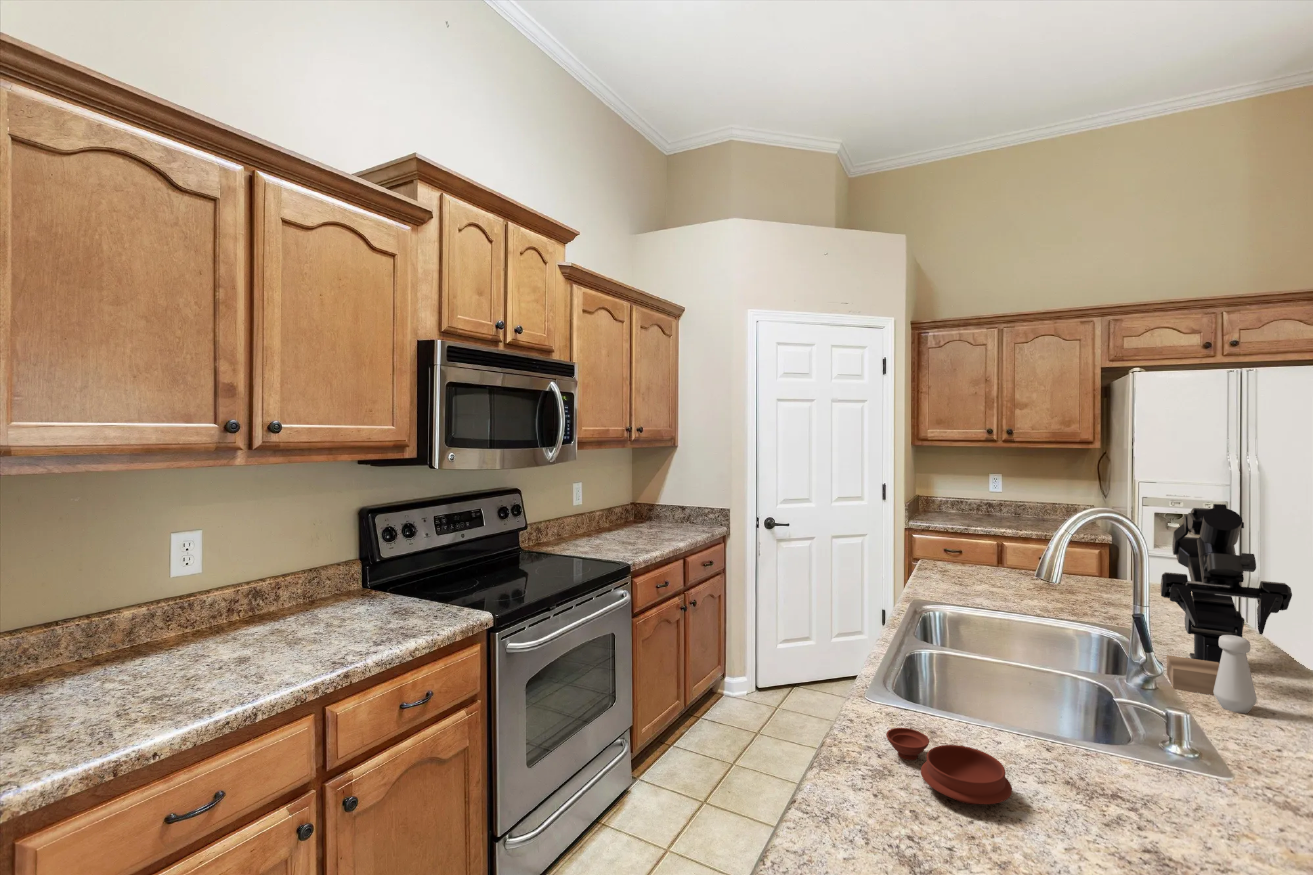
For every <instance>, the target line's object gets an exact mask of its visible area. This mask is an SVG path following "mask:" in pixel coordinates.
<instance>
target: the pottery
mask: <svg viewBox="0 0 1313 875" xmlns="http://www.w3.org/2000/svg"><path fill="white" fill-rule="evenodd" d="M885 734H886V735H885V736H886V738H887V741H888V743H890V745H891V746H892V748H893V749H894V750H895V751H897V755H898V756H899V758H900V759H903V760H905V761H906V760H907V761H916V760H917V759H918V757H919V755H920V754H922V753H923V752H924V750H926V749H927V748H928V746H929V744H930V739H929V737H928V735H926V734H924V733H922V732H921V731H919V730H916V729H913V728H907V727H895V728H891V729H889V730H887V732H886V733H885ZM920 775H921V777H922V778H923V780H924V782H925V783H926V784H927V785H928V786H929V787H931V788H932V789H933V790H935V791H937V792H938V793H940V794H942V795H944V796H946V797H949V798H950V799H952V800H955V801H957V802H959V803H962V804H966V805H994V804H1000V803H1002V802H1004V801H1007V800H1009V798H1010V797H1011V795H1012V794H1013V788H1012V784H1011V782H1010V781H1009V780H1008V778H1007V777H1006V769H1005V766H1004V765H1003V764H1002V763H1001V761H999V760H998V759H997V758H995V757H994V756H993V755H991V754H988V753H986V752H984V751H982V750H979V749H976V748H974V747H969V746H964V745H959V744H957V745H956V744H943V745H937V746H935V747H932V748H931V749H929V750H928V751H927V753H926V761H924V763H923V764H922V766H921V767H920Z"/></svg>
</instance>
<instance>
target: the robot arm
mask: <svg viewBox="0 0 1313 875" xmlns="http://www.w3.org/2000/svg"><path fill="white" fill-rule="evenodd" d="M1244 528H1245V523H1244V522H1243V518H1242V516H1241V515H1240V514H1239V513H1237V512H1236V511H1234V510H1233V509H1229V508H1228V507H1227V504H1226V503H1225V504H1224V503H1223V504H1221V503H1220V504H1219V503H1213V506H1212V508H1207V507H1206V508H1205V507H1203V508H1202V507H1193V508H1192V509H1191V511H1190V512H1187V515H1184V517H1183V523H1182V524H1181V525H1179V527H1177V528H1176V529H1175V530H1174V531H1173V536H1172V555H1174V556H1176V559H1177V560H1176V561H1177V563H1178V564H1179V565H1182V566H1183V567H1185V568H1187V570H1188V574H1189V578H1190V580H1189V579H1188V574H1187V573H1177V572H1166V571H1165V572H1164V573H1162V574H1161V579H1160V596H1161V597H1162V598H1164V599H1169V601H1170V602H1172V603H1176V604H1177V605H1178V606H1179V607H1180V608H1181V610H1182V611H1183V612H1184V613H1185V614H1184V628H1185V629H1184V630H1185V631H1186V633H1187V634H1188V635H1193V652H1190V653H1189V656H1190V657H1189V658H1191V659H1198V660H1205V661H1212V662H1218V663H1219V664H1220V659H1221V655H1222V651H1223V649H1222V648H1220V647H1219V642H1218V641H1219V637H1220V636H1222V635H1235V636H1239V637H1242V638H1243V630H1244V624H1245V621H1246V620H1245V618H1244V617H1243V616H1242V614H1241V612H1240V611H1239V610H1237V608H1236V603H1235V602H1234V600H1233V597H1236V598H1243V599H1245V598H1247V599H1255V600H1256V601H1257V608H1256V614H1257V615H1256V616H1257V617H1256V619H1257V630H1258V634H1259V635H1263V634H1264V630H1265V629H1266V628H1265V627H1266V624H1267V621H1268V619H1269V617H1270V615H1272V614H1277V613H1279V612H1280V611H1282V612H1283V611H1285V610H1286V611H1287V610H1288V608H1289V605H1290V602H1291V599H1292V597H1293V594H1292V588H1291V587H1290V585H1288V584H1287V583H1286V582H1276V581H1265V580H1260V582H1259V586H1258V587H1251V586H1242V583H1243V582H1244V580H1245V579H1244V572H1248V573H1249V572H1251V573H1253V572H1255V571H1256V570H1257V562H1256V557H1255V556H1256V555H1255V554H1254V553H1247V552H1246V553H1245V552H1242V553H1241V554H1240V555H1239V554H1236V549H1235V548H1236V547H1235V545H1236V544H1237V543H1238V540H1239V536H1240V533H1241V532H1240V531H1241V530H1242V529H1244ZM1189 533H1192V534H1193V535H1194V536H1195V535H1197V536H1199V537H1193V536H1188V535H1189Z"/></svg>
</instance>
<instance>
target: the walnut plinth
mask: <svg viewBox="0 0 1313 875" xmlns="http://www.w3.org/2000/svg"><path fill="white" fill-rule="evenodd" d="M1218 668H1219V663H1218V662H1212V661H1205V660H1198V659H1191V657H1183V656H1176V655H1169V654H1168V655H1166V676H1167V678H1168V680H1169V683H1170V685H1171V687H1172V688H1173V689H1174V690H1179V691H1186V692H1192V693H1197V692H1198V694H1203V695H1209V694H1210V695H1211V696H1215V695H1214V692H1213V691H1214V686H1215V681H1216V677H1217V673H1218Z"/></svg>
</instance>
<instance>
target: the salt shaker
mask: <svg viewBox="0 0 1313 875" xmlns="http://www.w3.org/2000/svg"><path fill="white" fill-rule="evenodd" d="M1218 642H1219V647H1220V648H1222V649H1223V651H1222V655H1221V659H1220V664H1219V668H1218V673H1217V677H1216V681H1215V686H1214V691H1213V692H1214V695H1213V696H1214V697H1215V698H1216V701H1217V702H1218V704H1219V705H1220V707H1221V708H1222V709H1224V710H1227V711H1230V712H1232V711H1233V712H1232V713H1238V714H1239V713H1240V714H1247V713H1249V712H1250V711H1251V710H1252V708H1253V707H1254V706H1255V705H1256V703H1257V699H1258V698H1257V694H1256V689H1255V686H1254V681H1253V677H1252V673H1251V668H1250V664H1249V661H1248V656H1247V654H1248V653H1250V652H1251V642H1250V640H1248V639H1247V638H1244V637H1243V636H1242V637H1239V636H1235V635H1222V636H1220V637H1219V641H1218Z"/></svg>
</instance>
